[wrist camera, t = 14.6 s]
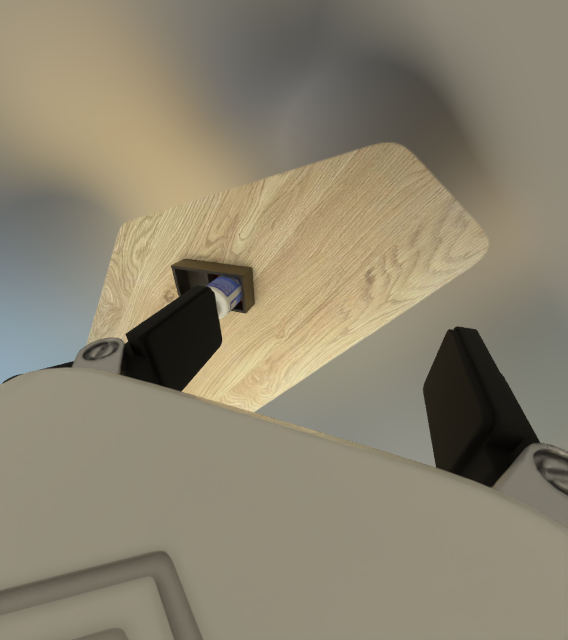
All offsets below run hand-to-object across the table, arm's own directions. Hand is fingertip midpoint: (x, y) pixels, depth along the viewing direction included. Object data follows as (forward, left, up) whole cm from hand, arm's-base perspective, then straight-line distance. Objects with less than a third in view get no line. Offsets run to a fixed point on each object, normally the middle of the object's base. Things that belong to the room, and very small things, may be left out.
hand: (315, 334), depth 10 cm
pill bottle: (+13, -20, -28) cm, 36 cm away
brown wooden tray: (+13, -23, -28) cm, 39 cm away
